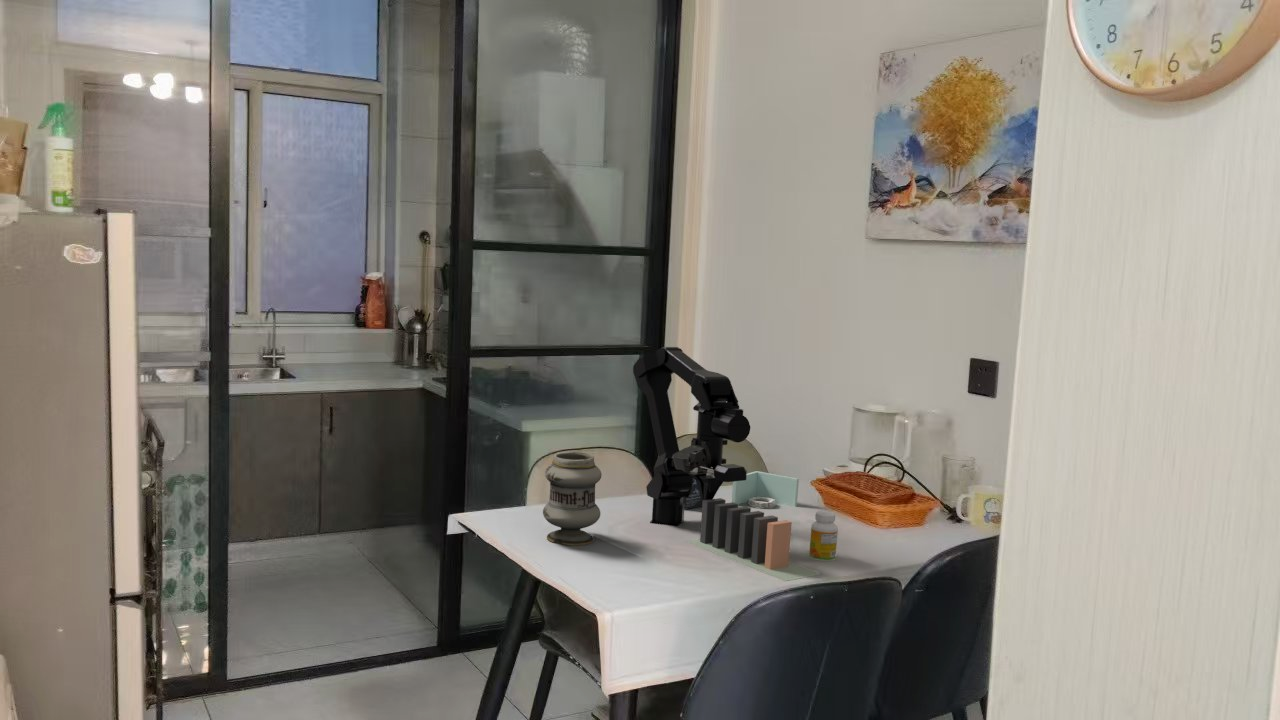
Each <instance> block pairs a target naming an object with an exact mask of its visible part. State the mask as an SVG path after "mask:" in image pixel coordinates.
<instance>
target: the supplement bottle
mask: <svg viewBox="0 0 1280 720" xmlns="http://www.w3.org/2000/svg"><path fill="white" fill-rule="evenodd" d="M835 522H836V513H834V512H832V511H826V510H825V511H823V510H820V511H819V510H818V511H816V512H815V521H814V522H812V524H811V527H810V540H809V541H810V542H809V553H808V556H809V558H811V559H813V560H817V561H824V562H825V561H826V562H828V561H835V560H836V555H837V542H838V525H837V524H836V523H835Z"/></svg>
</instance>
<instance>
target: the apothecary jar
mask: <svg viewBox="0 0 1280 720" xmlns="http://www.w3.org/2000/svg"><path fill="white" fill-rule="evenodd" d="M544 476H545V478H546V480H547V481H548V482H549V488H550V489H549V498H548V502H547V503H545V505H544V507H543V509H542V515H543V517H544V519H545V520H546V521H547V522H548V523H549V524H551V525H553V526H555V527H558V528H560V529H557V530H553V531H551V532H549V533H548V534H547V535H546V539H547V540H548V541H549V542H551V543H554V544H561V545H563V546H585V545H589V544H591V543H593V542H594V539H595V538H594V537H593V536H592V535H591V534H590V533H588V532H587V531H584V530H583V529H585V528H588V527H590V526H593V525H595V524H596V523H597V522H598V521H599V519H600V518H601V510H600V507H599V506H598V505H597V504H596V484H598V482H600V481H601V479H602V471H601V469H600V468H599V467H598V466H597V465H596V463H595V456H594V454H591V453H587V452H583V451H581V452H580V451H563V452H557V453H555V454H554V455H553V460H552V462H551V464H549V465H548V466H547V467H546V468H545V471H544Z"/></svg>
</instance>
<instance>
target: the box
mask: <svg viewBox="0 0 1280 720" xmlns="http://www.w3.org/2000/svg"><path fill="white" fill-rule="evenodd" d="M682 503H684V504H685V508H684V511H685V510H688V509H694V508H699V507H702V500H701V497H700V493H699V489H698V486H697V483H696V480H695V479H694V481H693V485H692V488H691V492H690V495H689V497H688V498H686V497H683V501H682Z"/></svg>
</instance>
